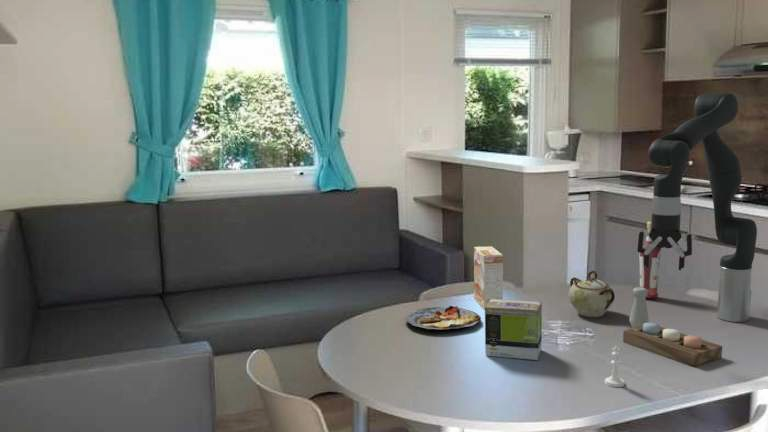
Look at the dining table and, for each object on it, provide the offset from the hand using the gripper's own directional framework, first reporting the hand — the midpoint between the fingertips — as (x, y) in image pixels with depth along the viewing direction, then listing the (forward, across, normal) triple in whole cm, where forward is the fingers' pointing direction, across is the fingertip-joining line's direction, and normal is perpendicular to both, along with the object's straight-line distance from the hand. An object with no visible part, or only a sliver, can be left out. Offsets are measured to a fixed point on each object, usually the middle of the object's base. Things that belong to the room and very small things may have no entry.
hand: (663, 268), depth 198 cm
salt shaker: (+24, +7, -18) cm, 31 cm away
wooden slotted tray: (+24, -3, -1) cm, 24 cm away
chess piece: (+24, +9, +30) cm, 40 cm away
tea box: (+24, +39, +18) cm, 49 cm away
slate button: (+22, +3, -5) cm, 22 cm away
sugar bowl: (+24, +23, -28) cm, 44 cm away
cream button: (+22, -3, -1) cm, 22 cm away
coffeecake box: (+24, +59, -28) cm, 70 cm away
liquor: (+24, +7, -54) cm, 60 cm away
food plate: (+24, +67, -2) cm, 71 cm away
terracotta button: (+22, -9, +3) cm, 23 cm away
